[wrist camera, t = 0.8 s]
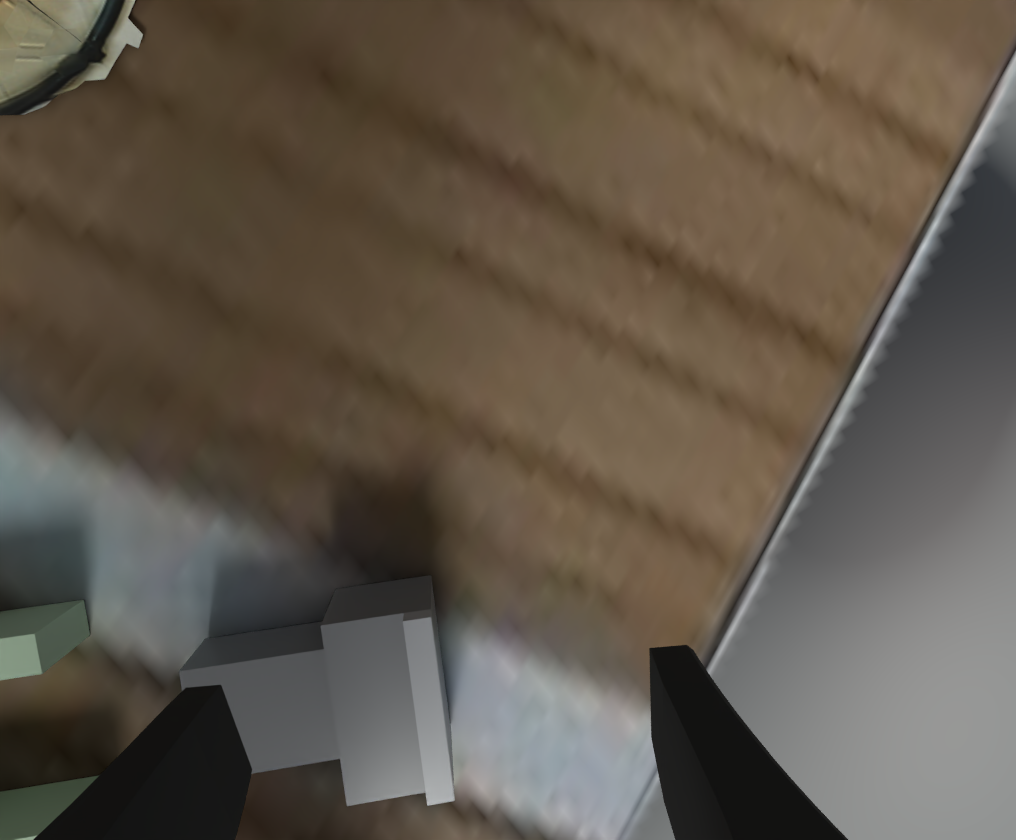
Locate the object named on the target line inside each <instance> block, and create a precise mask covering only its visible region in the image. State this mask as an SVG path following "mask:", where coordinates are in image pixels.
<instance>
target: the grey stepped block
mask: <svg viewBox="0 0 1016 840" xmlns="http://www.w3.org/2000/svg"><path fill="white" fill-rule="evenodd" d="M179 675H180V681H181V687H182V691H183V690H184V689H185V688H187V687H199V686H211V685H221V686H222V688H223V691H224V694H225V697H226V699H227V702H228V705H229V707H230V710H231V713H232V716H233V718H234V721H235V724H236V727H237V729H238V732H239V735H240V737H241V740H242V743H243V746H244V748H245V751H246V754H247V756H248V759H249V762H250V765H251V767H252V773H251V774H253V773H259V772H265V771H271V770H276V769H282V768H288V767H294V766H300V765H306V764H312V763H318V762H324V761H330V760H336V759H340V763H341V769H342V776H343V783H344V790H345V797H346V804H347V806H351V805H356V804H362V803H368V802H373V801H379V800H385V799H390V798H396V797H402V796H408V795H413V794H419V793H425V792H426V799H427V806H428V805H434V804H440V803H445V802H451V801H455V797H454V778H453V758H452V739H451V726H450V718H449V711H448V703H447V695H446V687H445V679H444V672H443V664H442V656H441V648H440V640H439V633H438V625H437V617H436V609H435V601H434V594H433V586H432V578H431V575H429V576H422V577H415V578H408V579H401V580H394V581H387V582H380V583H373V584H366V585H359V586H353V587H346V588H339V589H336V590H335V592H334V594H333V597H332V599H331V602H330V604H329V606H328V609H327V611H326V614H325V616H324V618H323V621H321V622H315V623H308V624H301V625H295V626H288V627H281V628H274V629H268V630H261V631H254V632H248V633H241V634H234V635H227V636H221V637H214V638H207V639H205V640H204V641H203V642H202V643H201V645H200V646H199V647H198V648H197V650H196V651H195V652H194V653H193V655H192V656H191V657H190V658H189V660H188V661H187V662H186V663H185V664H184V666H183V667H182V668H181V669H180V671H179Z"/></svg>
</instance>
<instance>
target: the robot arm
mask: <svg viewBox="0 0 1016 840" xmlns="http://www.w3.org/2000/svg"><path fill="white" fill-rule="evenodd" d="M649 649H650V693H651V737H652V742H653V748H654V753H655V758H656V763H657V768H658V773H659V778H660V783H661V788H662V793H663V798H664V803H665V806H666V809H667V813H668V816H669V819H670V823H671V826H672V830H673V833H674V836H675V839H676V840H848V839H847V838H846V837H845V836H844V835H843V834H842V833H841V832H840V831H839V830H838V829H837V828H836V827H835V826H834V825H833V824H832V823H831V822H830V820H829V819H828V818H827V817H826V816H825V815H824V814H823V813H822V812H821V811H820V810H819V809H818V808H817V807H816V806H815V805H814V804H813V802H812V801H811V800H810V799H809V798H808V797H807V796H806V795H805V794H804V792H803V791H802V790H801V789H800V788H799V787H798V786H797V785H796V784H795V782H794V781H793V780H792V779H791V778H790V777H789V776H788V775H787V773H786V772H785V771H784V770H783V769H782V768H781V767H780V765H779V764H778V763H777V762H776V761H775V760H774V759H773V757H772V756H771V755H770V754H769V752H768V751H767V750H766V748H765V747H764V746H763V745H762V744H761V742H760V741H759V740H758V739H757V737H756V736H755V735H754V734H753V733H752V731H751V730H750V729H749V728H748V726H747V725H746V724H745V723H744V721H743V720H742V719H741V718H740V716H739V715H738V714H737V712H736V711H735V710H734V708H733V707H732V706H731V704H730V703H729V702H728V700H727V699H726V698H725V696H724V695H723V694H722V692H721V691H720V689H719V688H718V686H717V685H716V684H715V683H714V681H713V679H712V678H711V677H710V675H709V674H708V672H707V671H706V669H705V668H704V666H703V665H702V663H701V662H700V660H699V659H698V657H697V655H696V654H695V652H694V650H692V649H691V648H690V647H689V646H687V645H681V646H669V647H657V648H649ZM251 773H252V767H251V765H250V762H249V759H248V756H247V754H246V751H245V748H244V746H243V743H242V740H241V737H240V735H239V732H238V729H237V727H236V724H235V721H234V718H233V716H232V713H231V710H230V707H229V705H228V702H227V699H226V697H225V694H224V691H223V688H222V686H221V685H211V686H199V687H187V688H185V689H184V690H183V691H182V692H181V693H180V694H179V695H178V696H177V697H176V698H175V699H174V700H173V701H172V702H171V703H170V704H169V705H168V706H167V707H166V708H165V709H164V710H163V711H162V712H161V713H160V714H159V715H158V716H157V717H156V718H155V719H154V720H153V721H152V722H151V723H150V724H149V725H148V726H147V727H146V728H145V729H144V730H143V731H142V732H141V733H140V734H139V736H138V737H137V738H136V739H135V740H134V741H133V742H132V743H131V744H130V745H129V746H128V747H127V748H126V749H125V750H124V751H123V752H122V753H121V754H120V755H119V756H118V757H117V758H116V759H115V760H114V761H113V762H112V763H111V764H110V765H109V766H108V767H107V768H106V769H105V770H104V771H103V772H102V773H101V774H100V775H99V776H98V777H97V778H96V779H95V780H94V781H93V782H92V783H91V784H90V785H89V786H88V787H87V788H86V789H85V790H84V791H83V792H82V793H81V794H80V795H79V796H78V797H77V798H76V799H75V800H74V801H73V802H72V803H71V804H70V805H69V806H68V807H67V808H66V809H65V810H64V811H63V812H62V813H61V814H60V815H59V816H58V817H57V818H55V819H54V820H53V821H52V822H51V823H50V824H49V825H48V826H47V827H46V828H45V829H44V830H43V831H42V832H41V833H40V834H39V835H37V836H36V837H35V838H34V839H33V840H235V837H236V835H237V831H238V827H239V823H240V819H241V815H242V811H243V808H244V804H245V799H246V795H247V791H248V786H249V782H250V778H251Z"/></svg>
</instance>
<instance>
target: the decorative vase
mask: <svg viewBox="0 0 1016 840" xmlns="http://www.w3.org/2000/svg"><path fill="white" fill-rule="evenodd" d="M134 3H135V0H0V115H24V114H27V113H29V112H32V111H35V110H37V109H40V108H42V107H44V106H45V105H47V104H48V103H49V102H50V101H51V100H53V99H54V98H55V97H56V96H58V95H59V94H62V93H65V92H67V91H70V90H73V89H76V88H77V87H78V86H79V85H80V84H81V83H83V82H84V81H88V80H104V79H105V78H106V77H107V75H108V73H109V71H110V70H111V68H112V66H113V64H114V63H115V61H116V59H117V58H118V56H119V55H120V53H121V51H122V50H123V48H124V47H125V45H126V44H129V45H132V46H134V47H136V48H139V45H140V42H141V39H142V36H143V34H142V33H141V32H140V31H139V30H138V29H137V27H136V26H135V25H134V24H133V23H132V22H131V21H130V20H129V19H128V16H129V14H130V12H131V9H132V7H133V5H134Z"/></svg>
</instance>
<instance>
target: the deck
mask: <svg viewBox="0 0 1016 840" xmlns="http://www.w3.org/2000/svg"><path fill="white" fill-rule="evenodd" d="M88 636H90V632H89V626H88V621H87V615H86V609H85V604H84V600H78V601H71V602H64V603H57V604H50V605H42V606H35V607H28V608H21V609H14V610H7V611H0V680H5V679H12V678H18V677H25V676H31V675H38V674H43V673H44V672H45V671H46V670H48V669H49V668H50V667H51V666H52V665H54V664H55V663H56V662H57V661H59V660H60V659H61V658H62V657H64V656H65V655H66V654H67V653H69V652H70V651H71V650H72V649H74V648H75V647H76V646H77V645H78V644H80V643H81V642H82V641H83V640H85V639H86V638H87V637H88ZM97 777H98V776H93V777H87V778H81V779H75V780H69V781H63V782H56V783H50V784H44V785H38V786H32V787H26V788H20V789H14V790H8V791H2V792H0V840H33V839H34V838H35V837H36V836H37V835H39V834H40V833H41V832H42V831H43V830H44V829H45V828H46V827H47V826H48V825H49V824H50V823H51V822H52V821H53V820H54V819H55V818H57V817H58V816H59V815H60V814H61V813H62V812H63V811H64V810H65V809H66V808H67V807H68V806H69V805H70V804H71V803H72V802H73V801H74V800H75V799H76V798H77V797H78V796H79V795H80V794H81V793H82V792H83V791H84V790H85V789H86V788H87V787H88V786H89V785H90V784H91V783H92V782H93V781H94V780H95V779H96V778H97Z"/></svg>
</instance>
